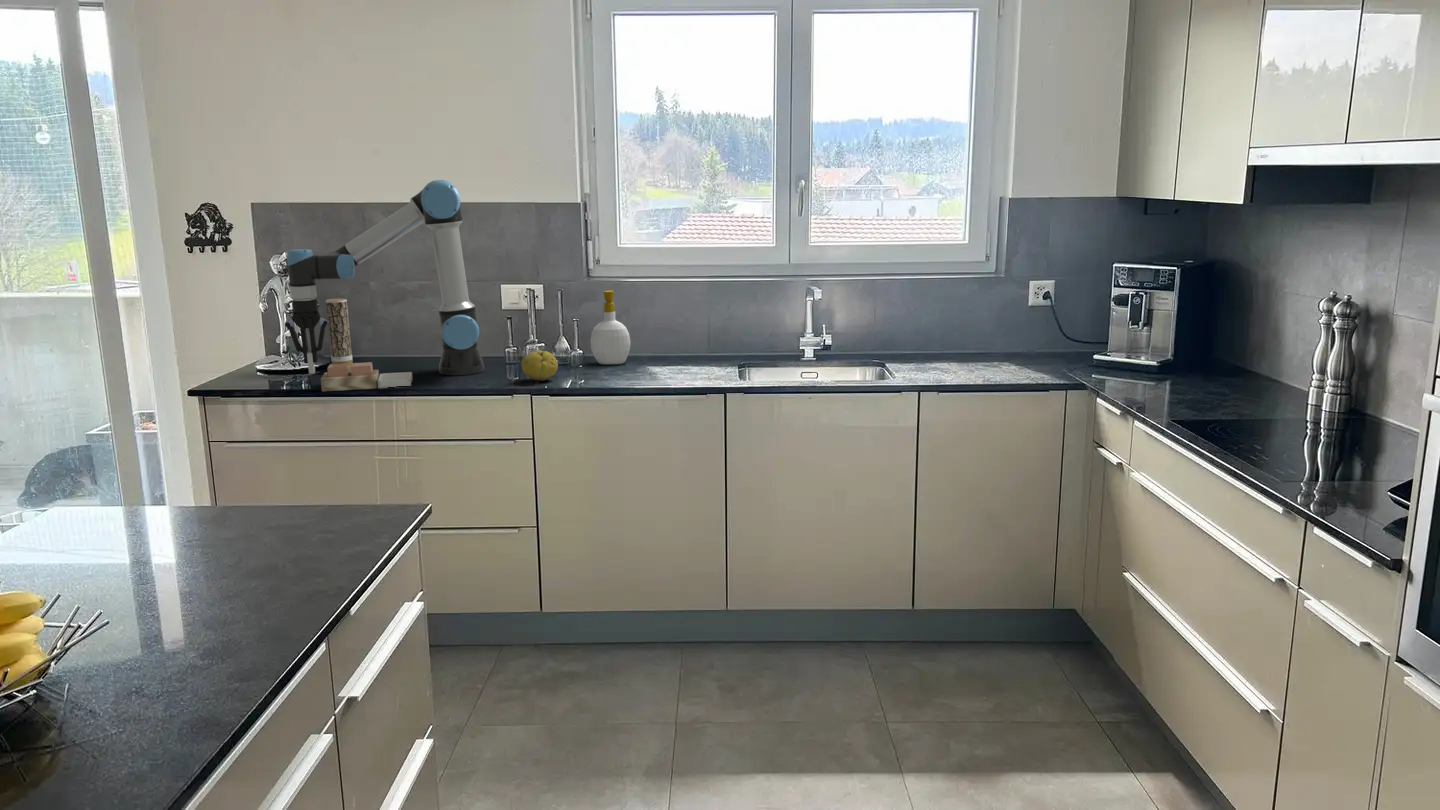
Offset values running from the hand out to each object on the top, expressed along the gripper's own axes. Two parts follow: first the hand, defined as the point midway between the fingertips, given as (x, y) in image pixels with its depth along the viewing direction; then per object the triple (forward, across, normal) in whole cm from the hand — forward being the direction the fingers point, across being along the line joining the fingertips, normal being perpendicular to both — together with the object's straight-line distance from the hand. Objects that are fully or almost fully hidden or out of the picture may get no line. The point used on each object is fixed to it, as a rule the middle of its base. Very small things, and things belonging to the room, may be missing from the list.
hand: (312, 372), depth 321 cm
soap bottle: (+6, -98, -14) cm, 99 cm away
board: (+5, -11, 0) cm, 13 cm away
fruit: (+6, -71, +9) cm, 72 cm away
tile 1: (+1, -8, 0) cm, 8 cm away
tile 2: (+1, -15, 0) cm, 15 cm away
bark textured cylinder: (+5, -6, -27) cm, 28 cm away
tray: (+5, -25, 0) cm, 26 cm away
